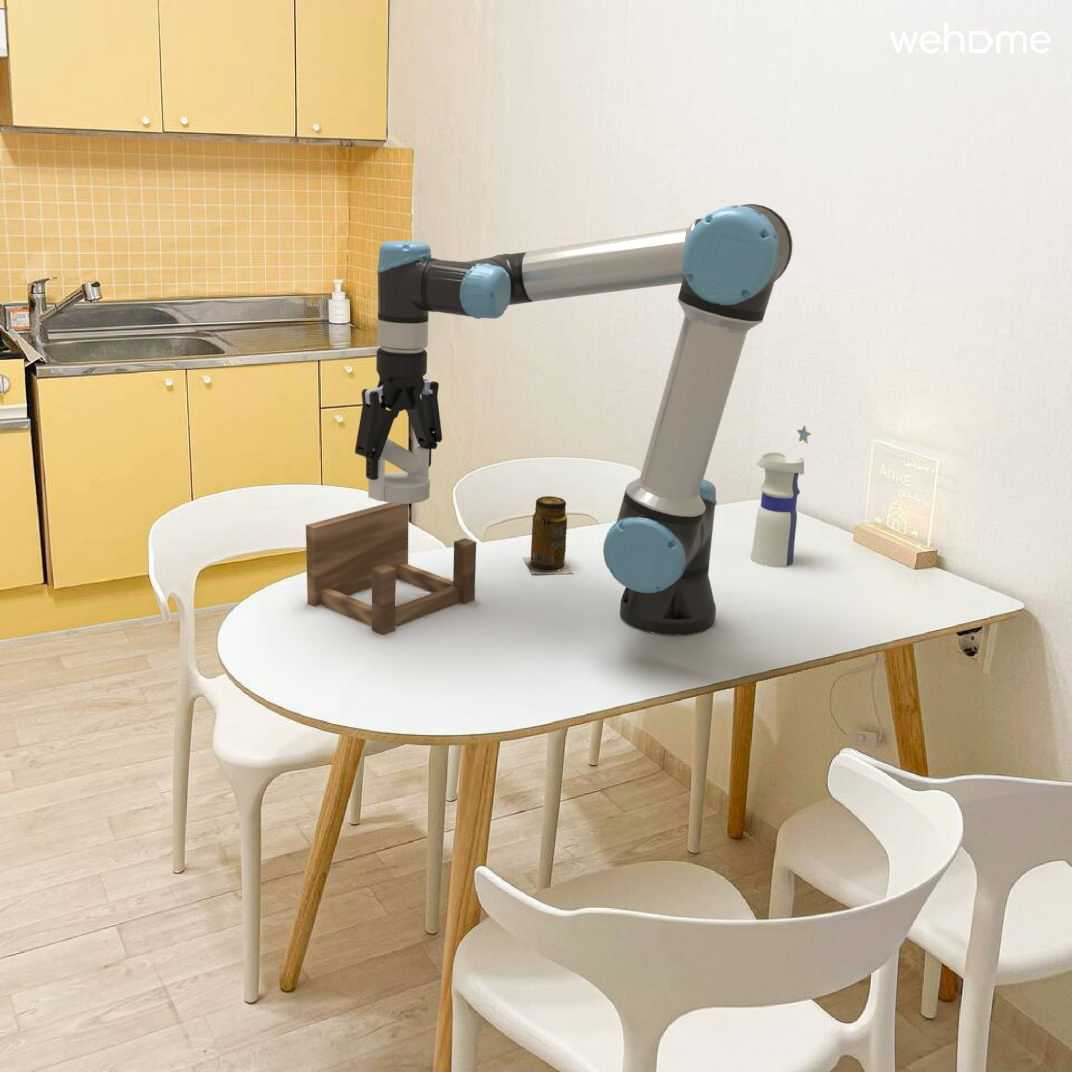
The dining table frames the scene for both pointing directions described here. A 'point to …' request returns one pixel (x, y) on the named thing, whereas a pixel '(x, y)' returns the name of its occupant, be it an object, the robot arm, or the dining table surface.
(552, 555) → the condiment
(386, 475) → the wall hook
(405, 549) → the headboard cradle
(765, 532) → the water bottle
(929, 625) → the dining table surface
